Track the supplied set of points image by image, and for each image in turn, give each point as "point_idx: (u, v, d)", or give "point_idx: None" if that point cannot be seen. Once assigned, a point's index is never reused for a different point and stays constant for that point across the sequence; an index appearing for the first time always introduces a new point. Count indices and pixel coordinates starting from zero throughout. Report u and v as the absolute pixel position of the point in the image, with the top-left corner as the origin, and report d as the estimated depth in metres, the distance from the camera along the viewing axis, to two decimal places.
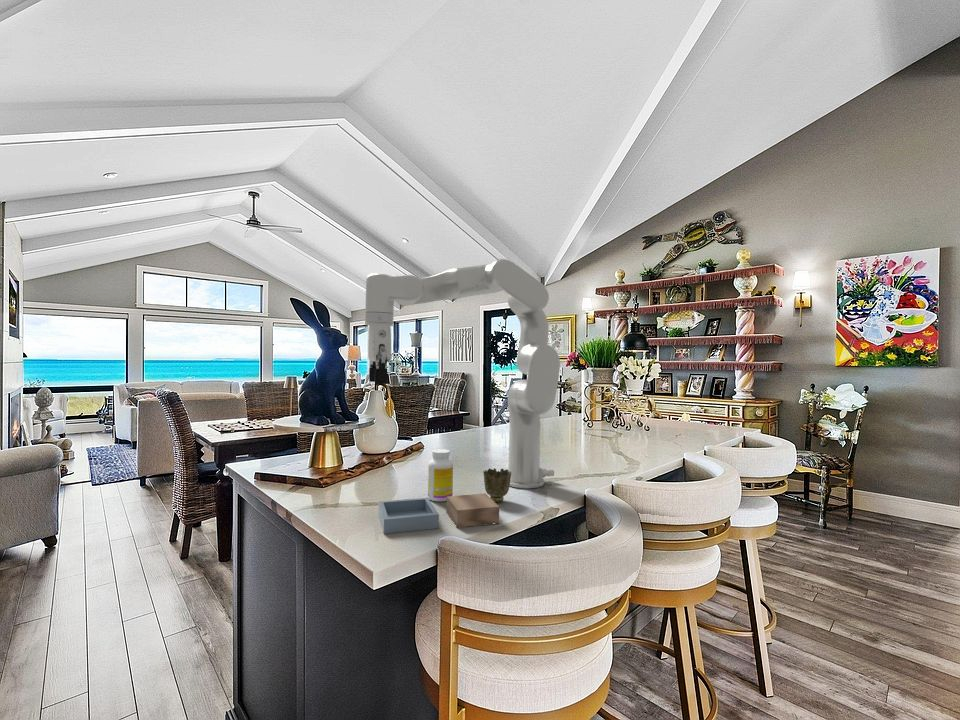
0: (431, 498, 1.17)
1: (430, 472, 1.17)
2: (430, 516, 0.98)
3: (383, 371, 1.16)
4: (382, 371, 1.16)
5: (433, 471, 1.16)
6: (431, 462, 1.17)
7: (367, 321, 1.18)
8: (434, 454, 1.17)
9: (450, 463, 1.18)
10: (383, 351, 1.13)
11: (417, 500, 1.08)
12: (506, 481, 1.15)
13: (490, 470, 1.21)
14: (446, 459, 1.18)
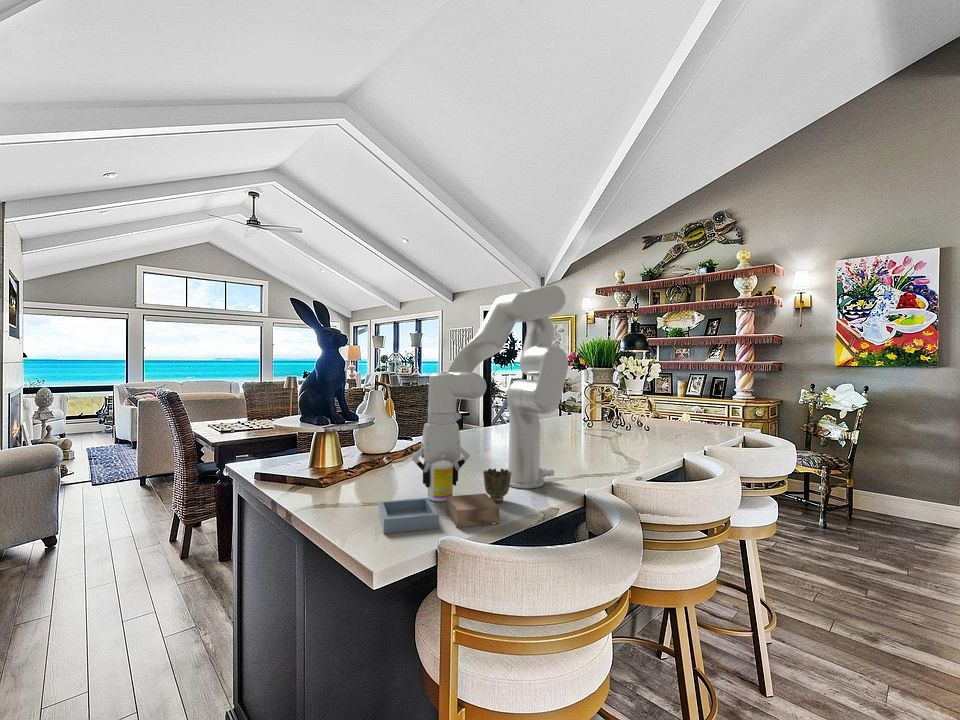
0: (431, 498, 1.17)
1: (430, 472, 1.17)
2: (430, 516, 0.98)
3: None
4: None
5: (433, 471, 1.16)
6: None
7: (450, 422, 1.16)
8: None
9: (450, 463, 1.18)
10: None
11: (417, 500, 1.08)
12: (506, 481, 1.15)
13: (490, 470, 1.21)
14: None
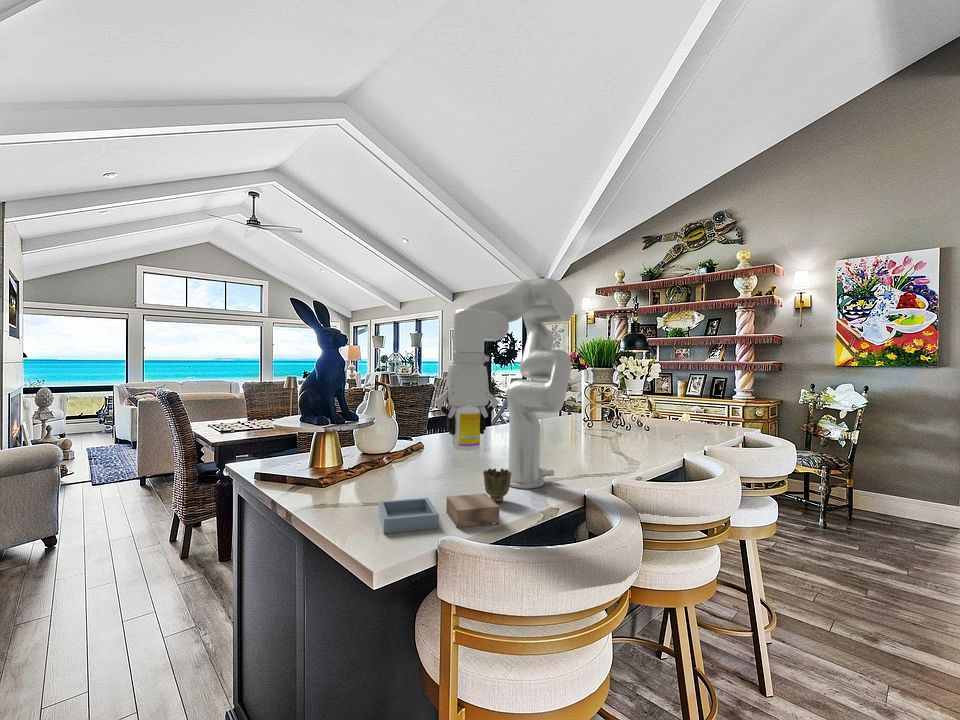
0: (456, 447, 1.05)
1: (455, 418, 1.06)
2: (430, 516, 0.98)
3: None
4: None
5: (459, 416, 1.05)
6: None
7: (478, 363, 1.05)
8: None
9: (477, 408, 1.06)
10: None
11: (417, 500, 1.08)
12: (506, 481, 1.15)
13: (490, 470, 1.21)
14: None
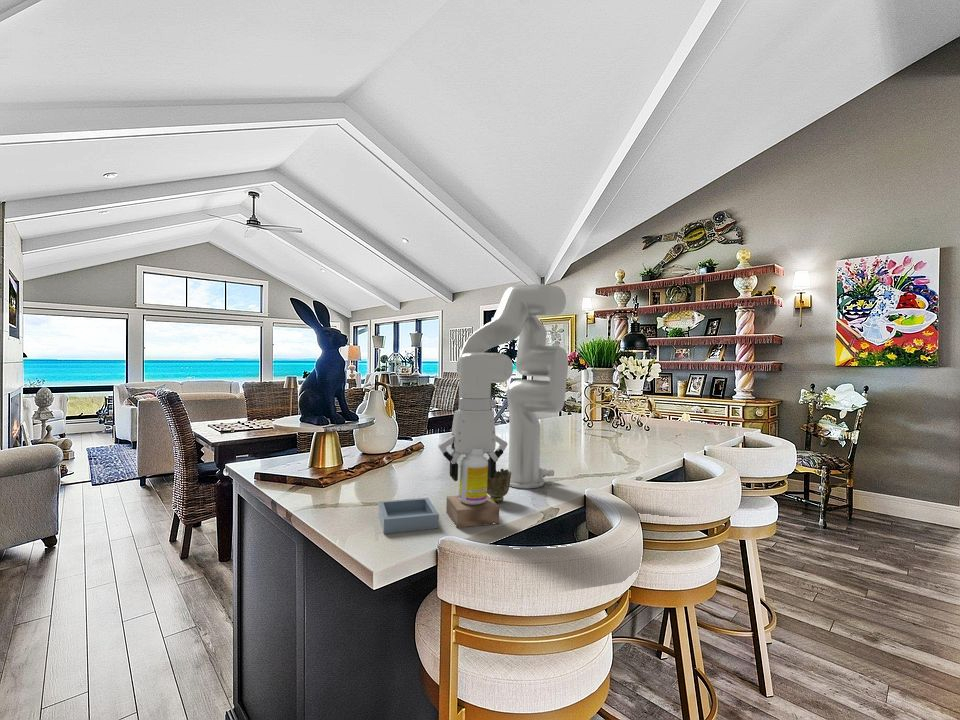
0: (463, 500, 1.03)
1: (463, 471, 1.03)
2: (430, 516, 0.98)
3: None
4: None
5: (467, 470, 1.02)
6: (464, 460, 1.03)
7: (485, 409, 1.02)
8: None
9: (485, 461, 1.04)
10: None
11: (417, 500, 1.08)
12: (506, 481, 1.15)
13: None
14: (481, 457, 1.04)
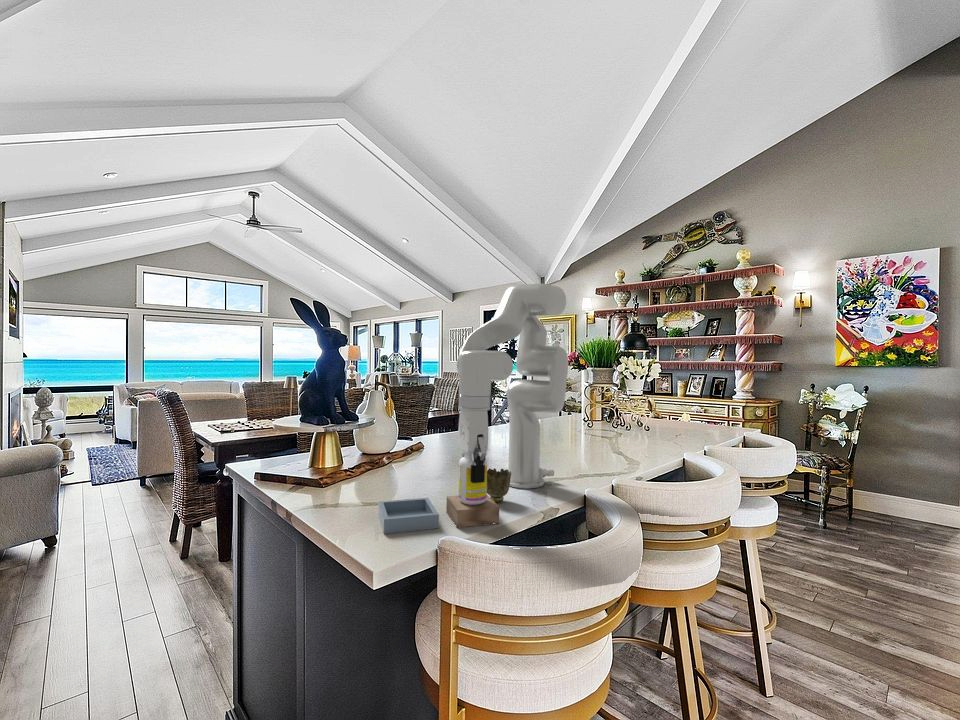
0: (463, 501, 1.03)
1: (462, 471, 1.03)
2: (430, 516, 0.98)
3: None
4: None
5: (466, 470, 1.02)
6: (463, 460, 1.03)
7: None
8: None
9: None
10: None
11: (417, 500, 1.08)
12: (506, 481, 1.15)
13: (490, 470, 1.21)
14: None
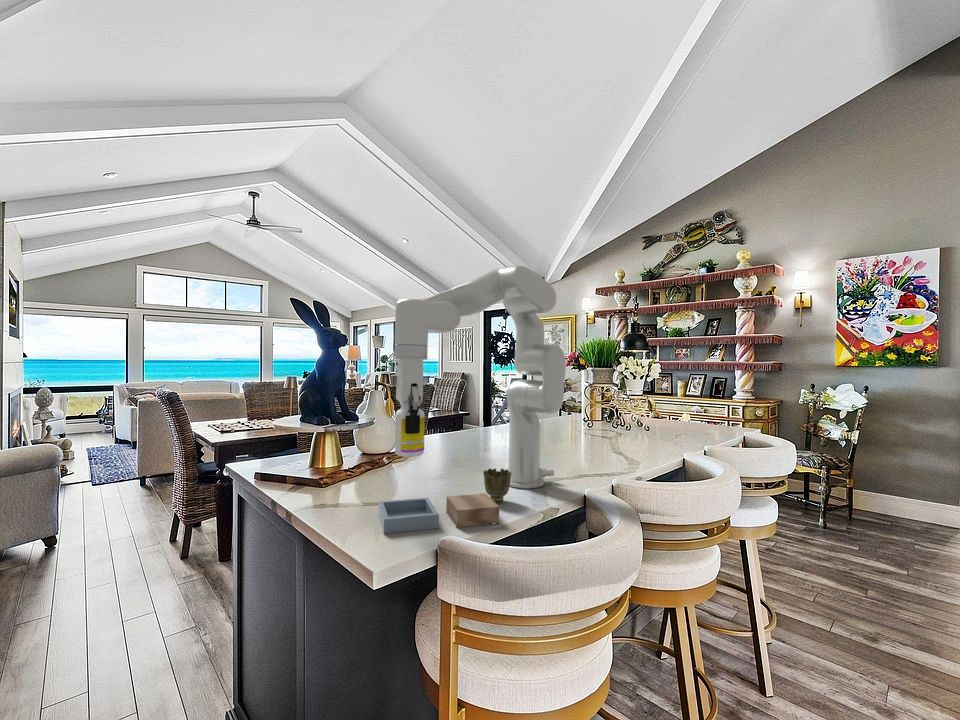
0: (398, 453, 1.00)
1: (397, 423, 1.00)
2: (430, 516, 0.98)
3: None
4: None
5: (401, 421, 0.99)
6: (398, 411, 1.01)
7: None
8: None
9: (420, 412, 1.01)
10: None
11: (417, 500, 1.08)
12: (506, 481, 1.15)
13: (490, 470, 1.21)
14: None
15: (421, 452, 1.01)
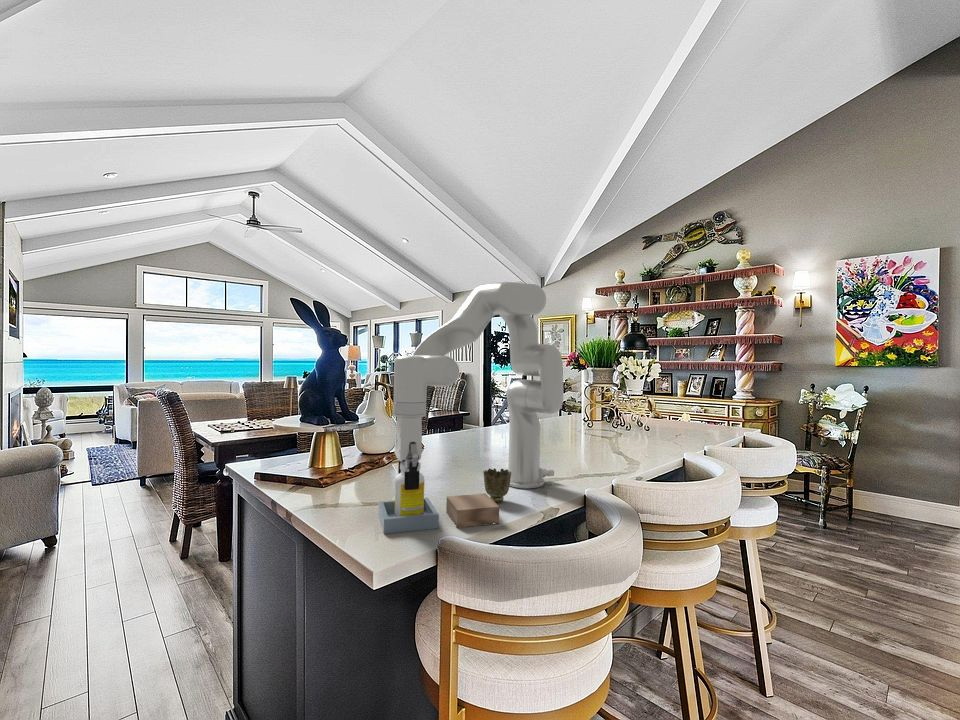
0: None
1: (397, 488, 1.00)
2: (430, 516, 0.98)
3: None
4: None
5: (400, 487, 0.99)
6: (398, 476, 1.01)
7: None
8: (402, 467, 1.01)
9: (420, 478, 1.01)
10: None
11: None
12: (506, 481, 1.15)
13: (490, 470, 1.21)
14: None
15: None
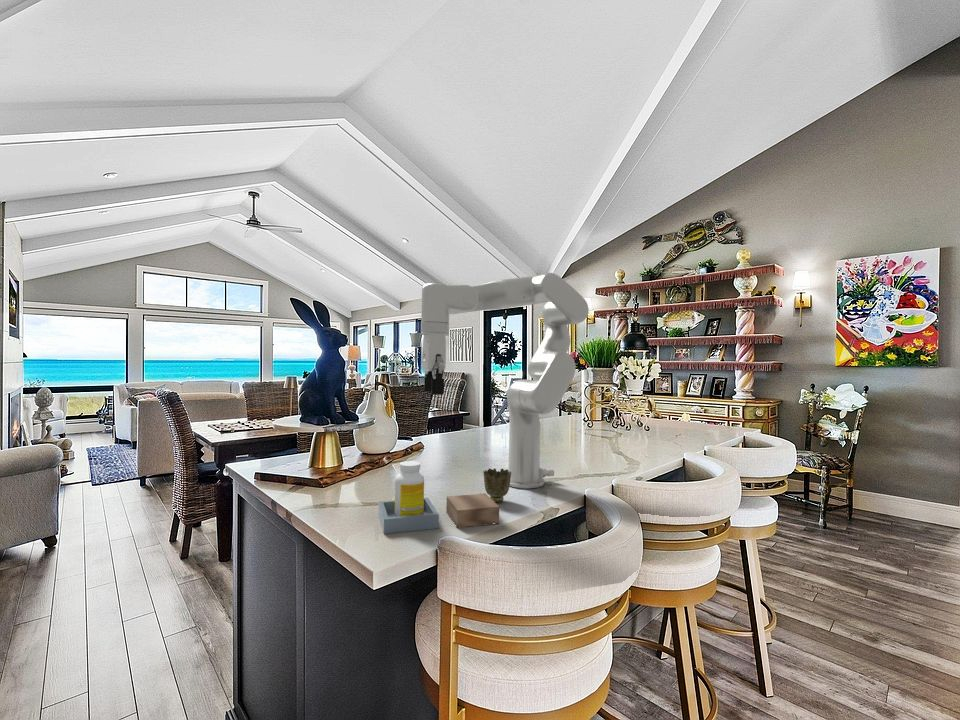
0: None
1: (396, 488, 1.00)
2: (430, 516, 0.98)
3: None
4: None
5: (400, 487, 0.99)
6: (398, 476, 1.01)
7: None
8: (401, 467, 1.00)
9: (420, 478, 1.01)
10: None
11: None
12: (506, 481, 1.15)
13: (490, 470, 1.21)
14: (415, 473, 1.01)
15: None
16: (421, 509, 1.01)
